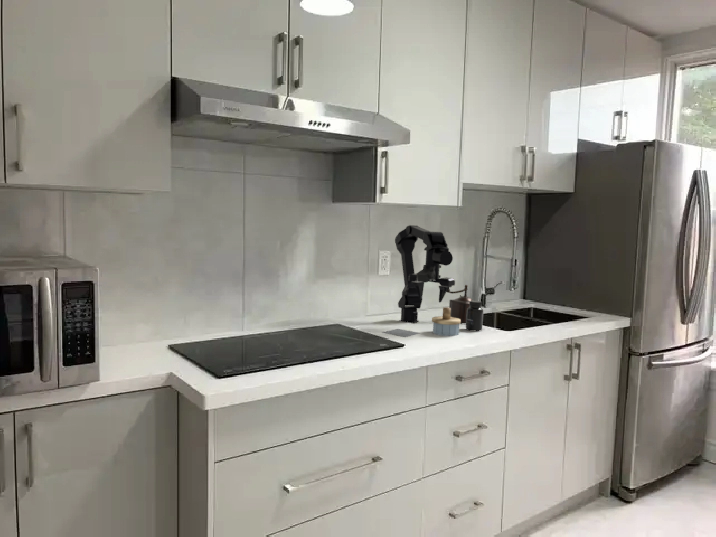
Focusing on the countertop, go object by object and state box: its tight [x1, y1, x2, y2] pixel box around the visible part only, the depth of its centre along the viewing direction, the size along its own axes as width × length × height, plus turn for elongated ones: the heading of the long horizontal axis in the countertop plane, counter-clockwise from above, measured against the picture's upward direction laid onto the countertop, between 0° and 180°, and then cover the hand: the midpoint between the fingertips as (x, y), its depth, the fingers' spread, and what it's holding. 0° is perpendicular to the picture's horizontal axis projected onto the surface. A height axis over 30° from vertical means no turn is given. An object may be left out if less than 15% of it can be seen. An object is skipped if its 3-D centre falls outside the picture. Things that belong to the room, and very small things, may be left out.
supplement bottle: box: [465, 300, 484, 332], centre depth 228 cm, size 7×7×12 cm
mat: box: [381, 328, 421, 338], centre depth 214 cm, size 11×11×1 cm
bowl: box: [432, 322, 460, 337], centre depth 216 cm, size 10×10×5 cm
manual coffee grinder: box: [446, 284, 475, 324], centre depth 247 cm, size 16×11×18 cm
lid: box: [431, 306, 462, 325], centre depth 216 cm, size 11×11×6 cm
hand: (430, 300), depth 224 cm, fingers open, 9 cm apart
